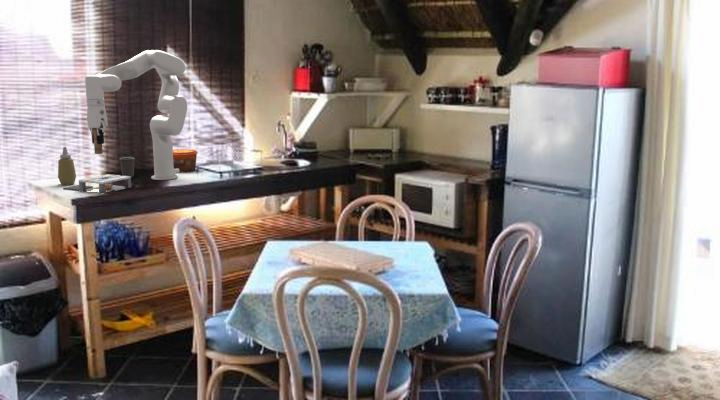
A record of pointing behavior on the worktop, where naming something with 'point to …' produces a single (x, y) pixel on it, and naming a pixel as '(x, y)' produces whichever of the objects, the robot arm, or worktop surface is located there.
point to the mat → (76, 187)
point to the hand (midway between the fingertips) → (98, 143)
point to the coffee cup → (127, 166)
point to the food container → (184, 160)
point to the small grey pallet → (105, 182)
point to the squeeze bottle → (66, 169)
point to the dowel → (96, 146)
